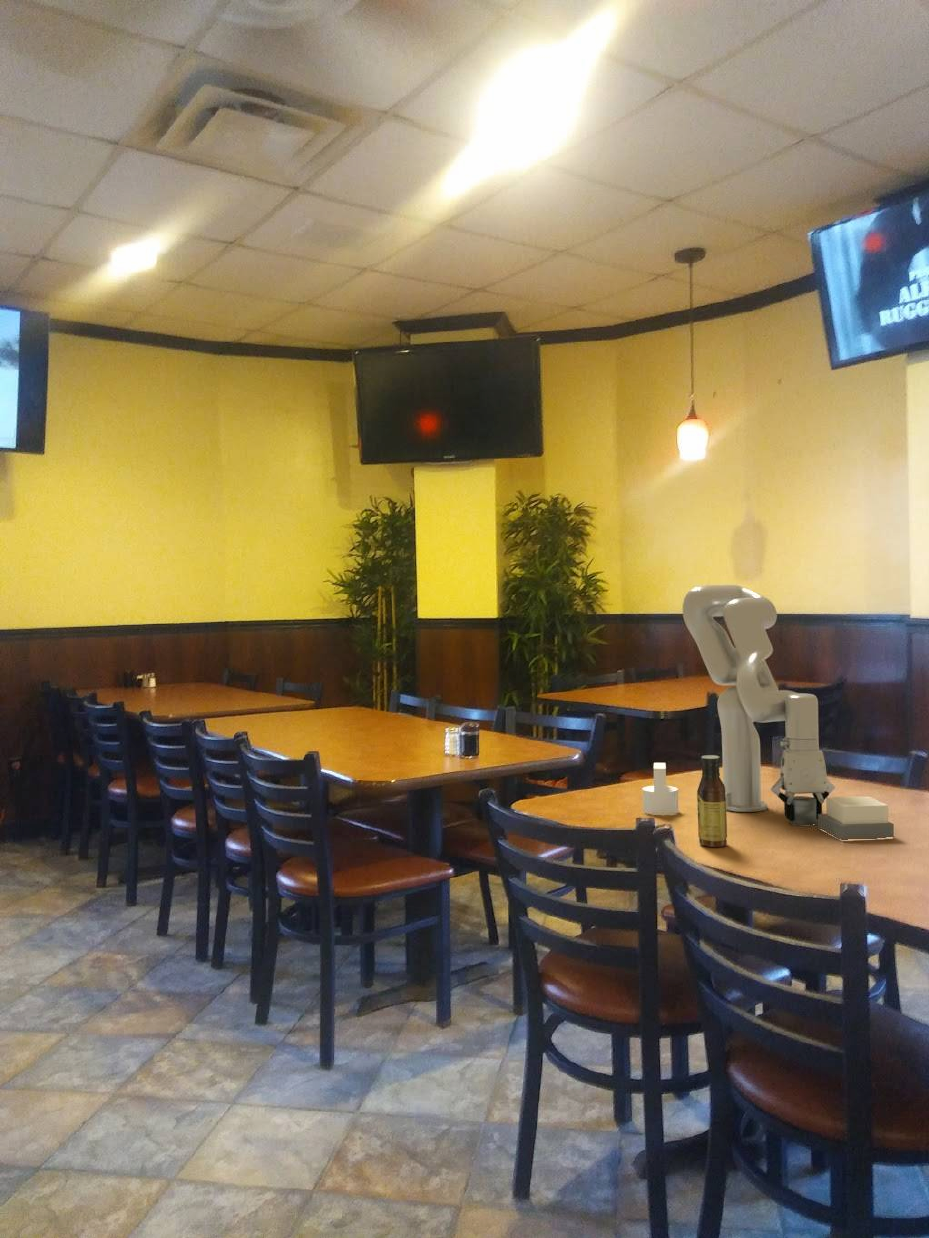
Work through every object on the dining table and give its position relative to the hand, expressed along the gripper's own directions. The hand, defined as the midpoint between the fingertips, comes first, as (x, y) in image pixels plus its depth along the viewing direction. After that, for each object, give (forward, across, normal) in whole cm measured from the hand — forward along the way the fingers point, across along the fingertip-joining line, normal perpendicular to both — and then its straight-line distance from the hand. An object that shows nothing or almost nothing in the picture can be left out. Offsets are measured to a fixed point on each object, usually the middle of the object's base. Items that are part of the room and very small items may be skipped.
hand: (803, 818), depth 232 cm
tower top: (-2, +7, -12) cm, 14 cm away
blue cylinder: (+1, 0, 0) cm, 1 cm away
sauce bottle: (+1, -28, -16) cm, 32 cm away
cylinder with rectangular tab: (+1, -30, +18) cm, 35 cm away
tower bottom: (+2, +7, -12) cm, 14 cm away
